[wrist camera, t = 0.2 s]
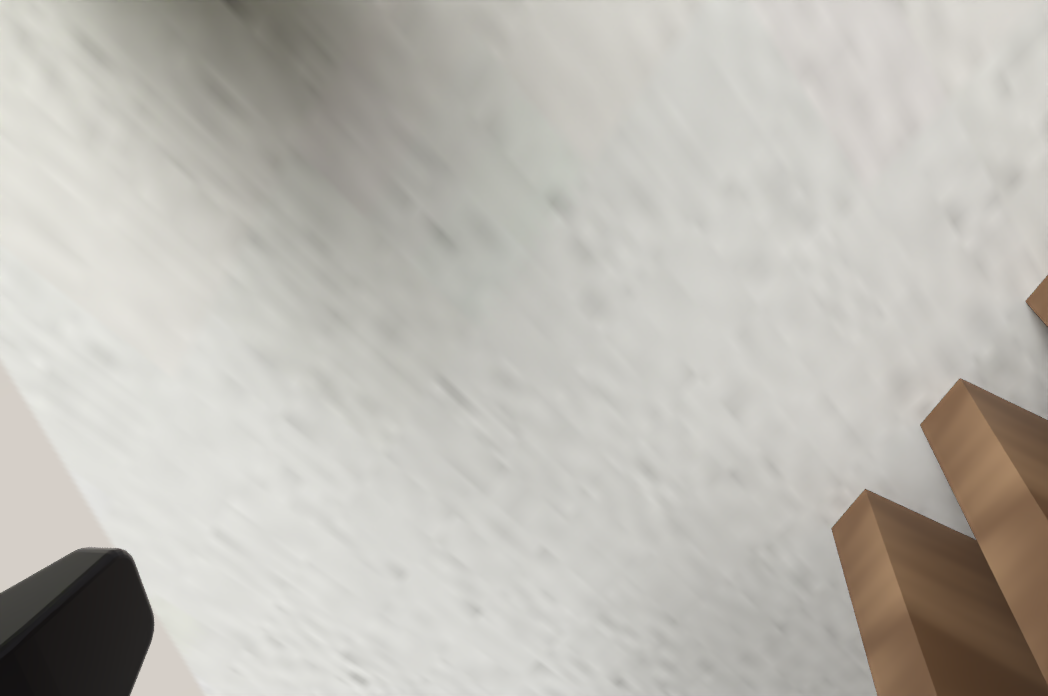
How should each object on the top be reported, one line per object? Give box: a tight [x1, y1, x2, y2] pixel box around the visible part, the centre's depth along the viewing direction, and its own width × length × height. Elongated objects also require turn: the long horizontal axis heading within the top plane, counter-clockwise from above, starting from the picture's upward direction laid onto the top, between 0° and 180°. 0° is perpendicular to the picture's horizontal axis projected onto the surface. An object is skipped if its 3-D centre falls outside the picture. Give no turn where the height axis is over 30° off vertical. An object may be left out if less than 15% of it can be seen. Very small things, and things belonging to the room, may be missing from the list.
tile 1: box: [831, 489, 1048, 696], centre depth 20 cm, size 2×5×10 cm, turn 66°
